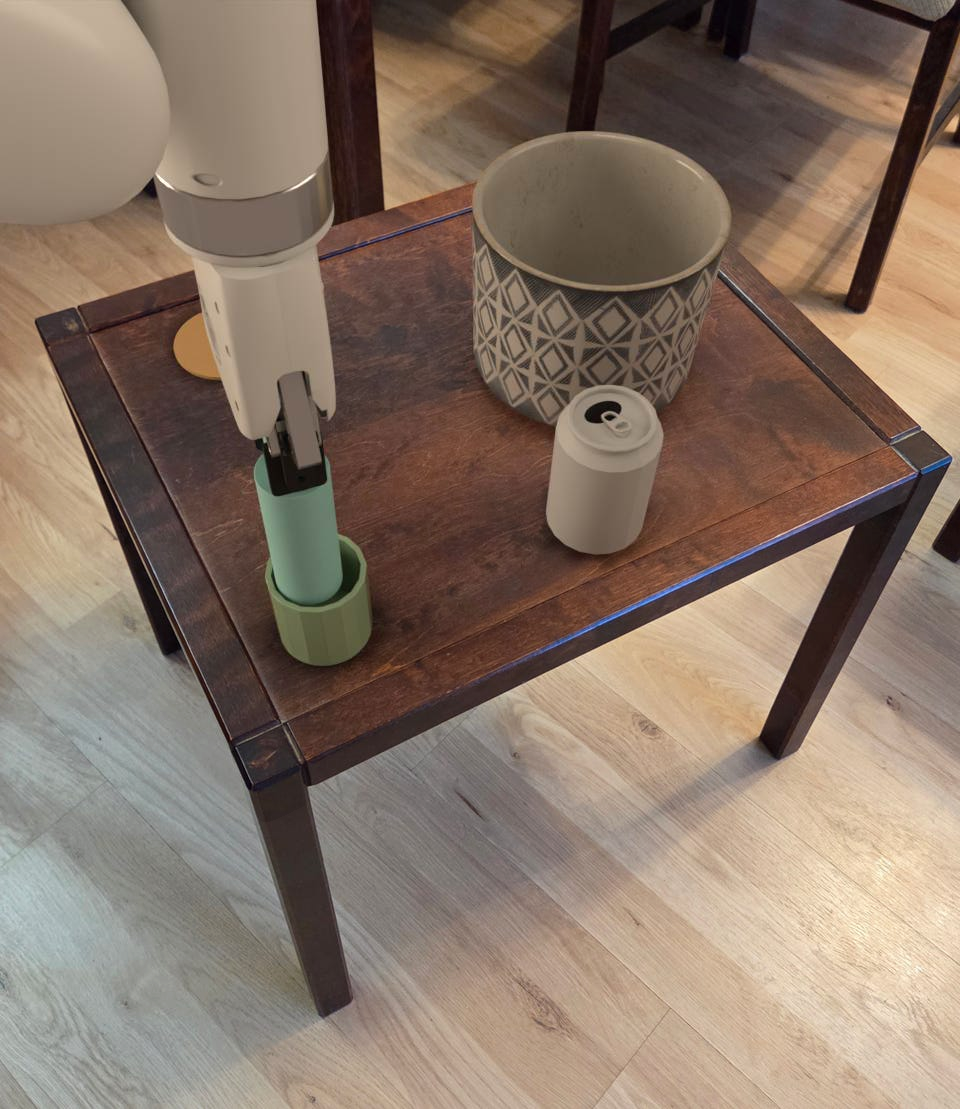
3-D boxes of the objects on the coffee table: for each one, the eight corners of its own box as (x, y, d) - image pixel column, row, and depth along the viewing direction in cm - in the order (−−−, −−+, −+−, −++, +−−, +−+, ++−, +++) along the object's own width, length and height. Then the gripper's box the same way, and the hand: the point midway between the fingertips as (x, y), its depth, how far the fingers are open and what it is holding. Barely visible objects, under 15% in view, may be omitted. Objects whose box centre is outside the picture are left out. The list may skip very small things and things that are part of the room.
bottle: (285, 613, 68) (249, 434, 55) (268, 561, 71) (229, 377, 57) (351, 594, 69) (331, 414, 56) (332, 544, 72) (308, 359, 58)
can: (603, 471, 85) (623, 361, 75) (661, 535, 81) (690, 428, 71) (526, 509, 82) (536, 400, 72) (582, 576, 78) (601, 472, 69)
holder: (293, 678, 73) (280, 624, 67) (269, 603, 76) (254, 546, 71) (384, 649, 74) (378, 594, 69) (356, 577, 78) (349, 519, 72)
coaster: (186, 391, 89) (185, 387, 88) (165, 322, 94) (164, 319, 93) (290, 365, 91) (289, 362, 90) (264, 300, 96) (263, 296, 95)
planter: (468, 448, 86) (472, 287, 72) (468, 291, 97) (471, 128, 84) (704, 450, 86) (750, 291, 73) (676, 294, 97) (712, 132, 84)
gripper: (125, 102, 50) (196, 384, 64) (200, 323, 41) (262, 592, 56) (281, 76, 51) (315, 357, 66) (385, 283, 43) (397, 554, 57)
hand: (290, 462), depth 61 cm, fingers closed on bottle, 3 cm apart
